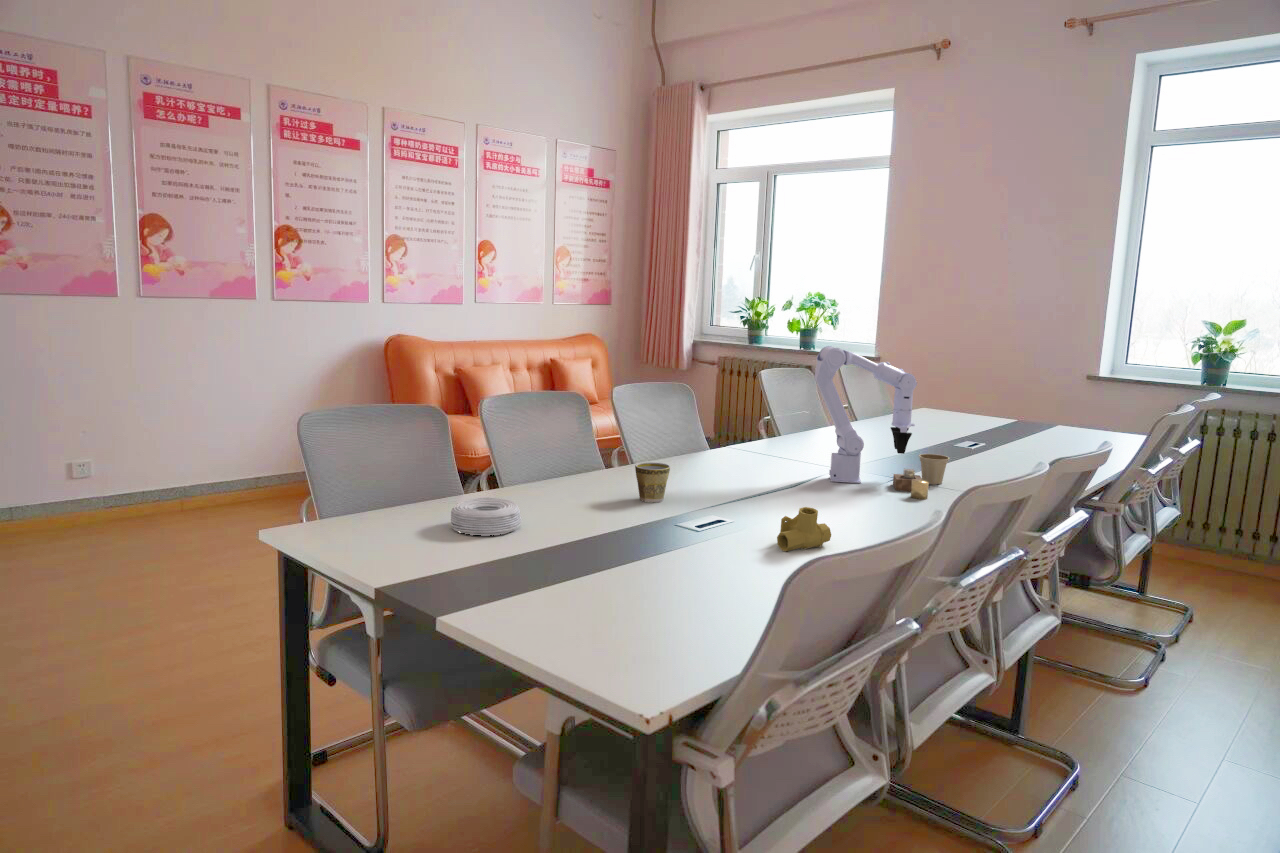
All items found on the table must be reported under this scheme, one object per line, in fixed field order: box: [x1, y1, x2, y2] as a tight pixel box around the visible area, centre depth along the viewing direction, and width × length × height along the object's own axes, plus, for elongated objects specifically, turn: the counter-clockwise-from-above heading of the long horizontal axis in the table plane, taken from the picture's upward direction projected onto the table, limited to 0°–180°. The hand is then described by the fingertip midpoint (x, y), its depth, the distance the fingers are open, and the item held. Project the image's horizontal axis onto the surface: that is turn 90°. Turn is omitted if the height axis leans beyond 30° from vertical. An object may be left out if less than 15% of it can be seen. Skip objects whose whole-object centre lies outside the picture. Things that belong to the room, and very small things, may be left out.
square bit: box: [902, 468, 916, 479], centre depth 268 cm, size 3×3×6 cm
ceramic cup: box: [634, 462, 671, 503], centre depth 246 cm, size 13×10×10 cm
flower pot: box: [918, 453, 950, 486], centre depth 277 cm, size 9×9×9 cm
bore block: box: [892, 473, 922, 492], centre depth 268 cm, size 8×8×4 cm
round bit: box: [910, 480, 930, 501], centre depth 256 cm, size 5×5×5 cm
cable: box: [450, 496, 523, 537], centre depth 213 cm, size 18×18×6 cm
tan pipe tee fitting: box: [776, 506, 832, 552], centre depth 204 cm, size 13×10×10 cm
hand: (899, 451), depth 277 cm, fingers open, 7 cm apart
